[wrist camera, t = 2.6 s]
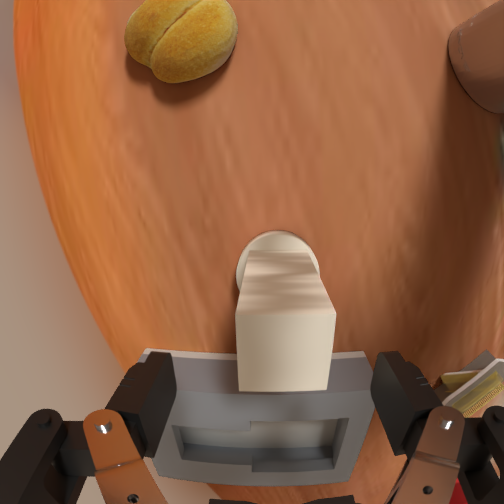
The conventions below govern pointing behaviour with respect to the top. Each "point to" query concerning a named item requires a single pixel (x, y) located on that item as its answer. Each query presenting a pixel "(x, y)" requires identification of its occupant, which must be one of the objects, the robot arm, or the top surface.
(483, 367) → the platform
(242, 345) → the maple peg
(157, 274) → the top surface
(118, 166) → the top surface
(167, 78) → the bread roll
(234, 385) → the keyhole plate
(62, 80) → the top surface
